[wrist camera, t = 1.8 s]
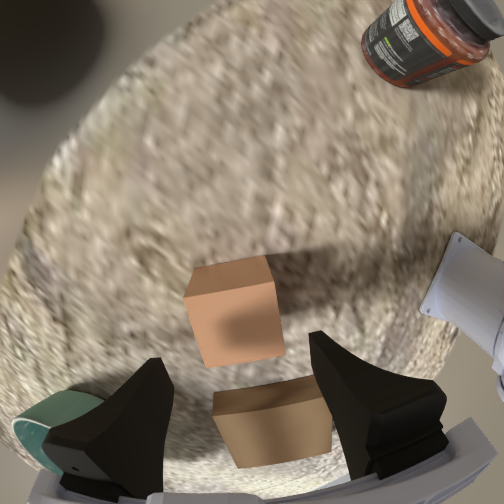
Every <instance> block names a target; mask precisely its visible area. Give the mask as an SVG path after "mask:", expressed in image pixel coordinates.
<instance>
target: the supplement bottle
mask: <svg viewBox="0 0 504 504" xmlns="http://www.w3.org/2000/svg"><path fill="white" fill-rule="evenodd" d="M501 36H504V18H503V16H502V14H501V12H500V10H499V8H498V7H497V5H496V4H495V2H494V1H493V0H396V1H395V2H394V3H393V4H392V5H391V6H390V7H389V8H388V9H387V10H386V11H385V12H384V13H382V14H381V15H380V16H379V17H378V18H377V19H376V20H375V21H374V22H373V23H372V24H371V25H370V26H369V27H368V28H367V29H366V31H365V32H364V34H363V36H362V41H361V45H362V50H363V53H364V56H365V58H366V60H367V62H368V63H369V65H370V66H371V68H372V69H373V70H374V71H375V72H376V73H377V74H378V75H379V76H380V77H381V78H383V79H384V80H386V81H387V82H389V83H391V84H394V85H396V86H400V87H412V86H415V85H418V84H421V83H423V82H426V81H429V80H431V79H433V78H436V77H439V76H441V75H444V74H447V73H449V72H452V71H455V70H458V69H460V68H463V67H466V66H469V65H472V64H475V63H477V62H480V61H482V60H483V59H484V58H485V57H486V56H487V55H488V52H489V48H490V41H491V40H494V39H495V38H498V37H501Z"/></svg>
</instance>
